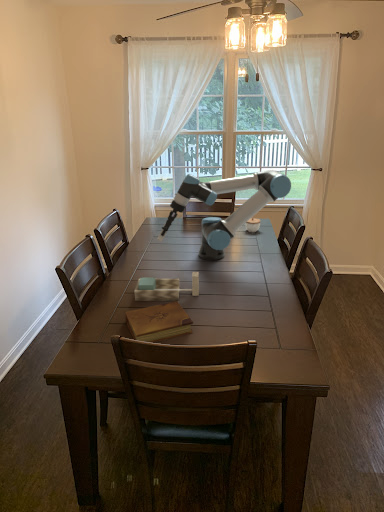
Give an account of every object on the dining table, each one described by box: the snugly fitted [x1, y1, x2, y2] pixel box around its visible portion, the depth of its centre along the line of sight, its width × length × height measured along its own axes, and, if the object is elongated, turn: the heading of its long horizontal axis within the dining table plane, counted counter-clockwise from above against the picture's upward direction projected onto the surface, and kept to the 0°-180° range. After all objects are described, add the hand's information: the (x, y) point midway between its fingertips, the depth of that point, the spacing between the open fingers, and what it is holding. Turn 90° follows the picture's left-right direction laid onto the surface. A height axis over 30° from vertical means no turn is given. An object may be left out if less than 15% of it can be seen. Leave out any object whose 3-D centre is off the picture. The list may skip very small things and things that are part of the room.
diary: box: [124, 300, 194, 343], centre depth 152 cm, size 23×19×6 cm
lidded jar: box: [244, 217, 261, 233], centre depth 262 cm, size 11×11×9 cm
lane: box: [134, 278, 181, 302], centre depth 178 cm, size 20×13×5 cm, turn 89°
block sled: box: [138, 271, 200, 297], centre depth 177 cm, size 28×8×10 cm, turn 89°
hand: (160, 237), depth 199 cm, fingers open, 13 cm apart
